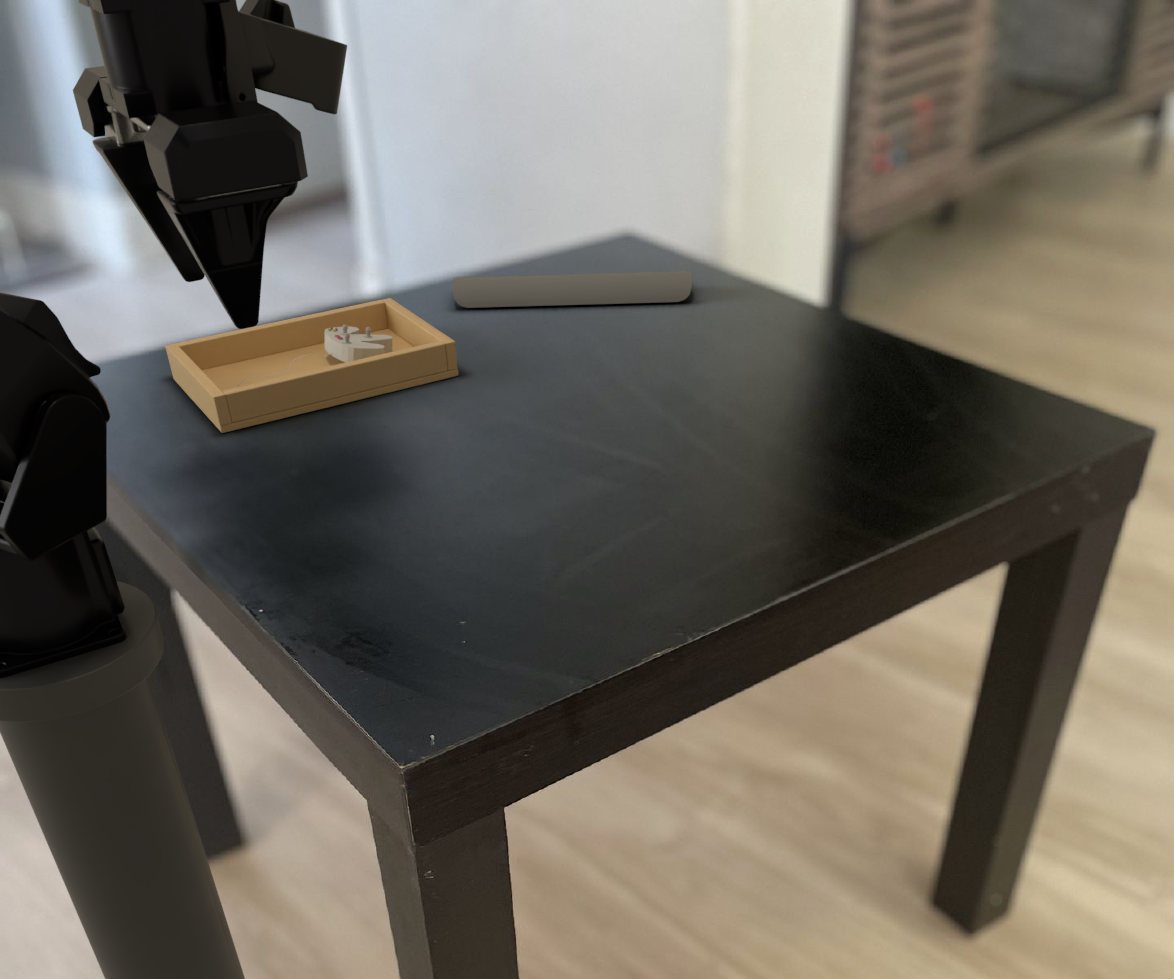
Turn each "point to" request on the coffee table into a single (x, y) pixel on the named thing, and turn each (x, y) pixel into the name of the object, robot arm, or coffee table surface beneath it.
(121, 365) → the coffee table surface
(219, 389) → the serving tray
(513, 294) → the gray half cylinder
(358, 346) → the game controller
